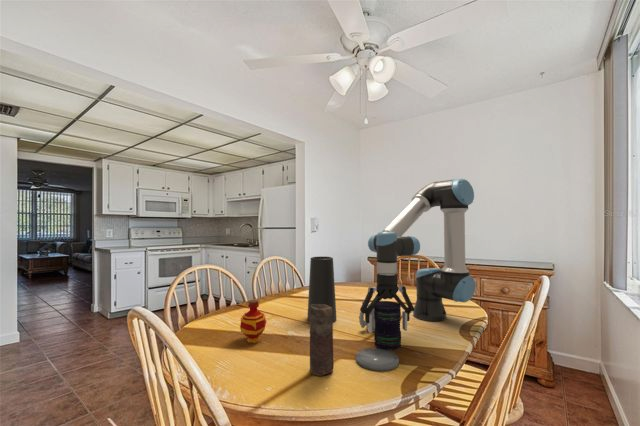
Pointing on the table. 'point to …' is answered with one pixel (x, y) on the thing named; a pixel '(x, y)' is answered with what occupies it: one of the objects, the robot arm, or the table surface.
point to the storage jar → (387, 325)
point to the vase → (322, 284)
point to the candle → (321, 339)
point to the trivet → (377, 359)
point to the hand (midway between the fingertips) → (387, 330)
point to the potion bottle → (253, 322)
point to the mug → (363, 323)
